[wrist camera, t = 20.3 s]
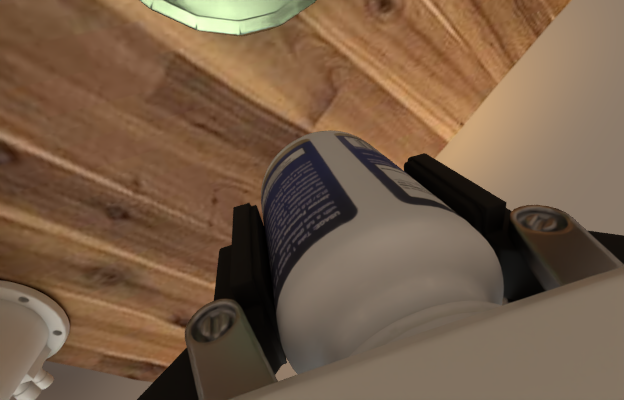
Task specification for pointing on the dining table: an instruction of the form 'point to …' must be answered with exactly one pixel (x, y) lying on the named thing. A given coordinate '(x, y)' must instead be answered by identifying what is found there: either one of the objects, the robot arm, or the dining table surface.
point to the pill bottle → (364, 252)
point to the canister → (229, 14)
